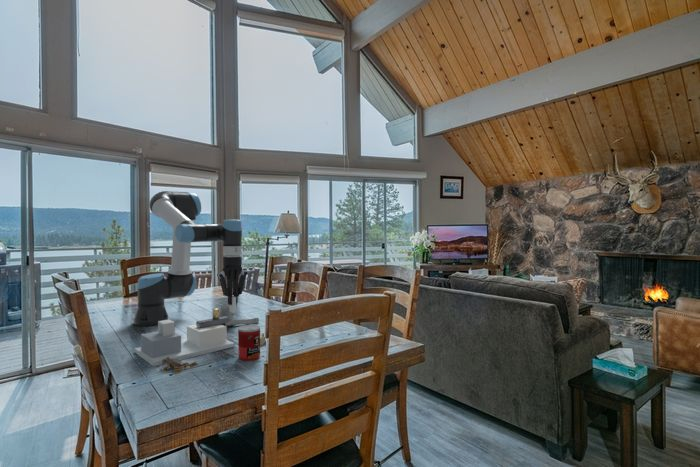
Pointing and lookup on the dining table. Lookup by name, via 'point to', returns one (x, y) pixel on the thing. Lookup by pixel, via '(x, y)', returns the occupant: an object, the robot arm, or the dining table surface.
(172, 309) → the dining table surface
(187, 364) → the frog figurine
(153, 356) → the white stepped platform
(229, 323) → the door handle
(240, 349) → the canned food
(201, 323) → the bolt
